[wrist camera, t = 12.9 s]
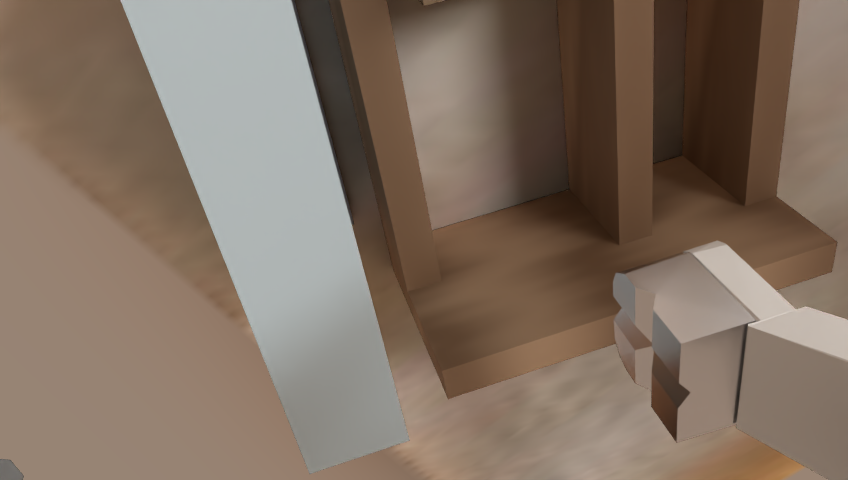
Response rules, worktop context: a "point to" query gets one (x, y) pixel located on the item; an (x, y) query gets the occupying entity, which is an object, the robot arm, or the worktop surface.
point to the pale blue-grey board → (276, 212)
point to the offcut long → (430, 1)
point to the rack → (590, 183)
